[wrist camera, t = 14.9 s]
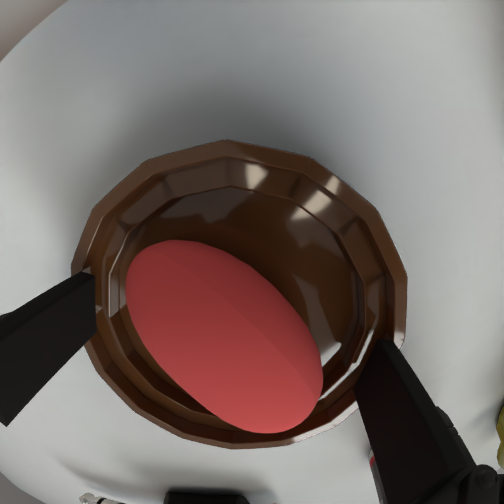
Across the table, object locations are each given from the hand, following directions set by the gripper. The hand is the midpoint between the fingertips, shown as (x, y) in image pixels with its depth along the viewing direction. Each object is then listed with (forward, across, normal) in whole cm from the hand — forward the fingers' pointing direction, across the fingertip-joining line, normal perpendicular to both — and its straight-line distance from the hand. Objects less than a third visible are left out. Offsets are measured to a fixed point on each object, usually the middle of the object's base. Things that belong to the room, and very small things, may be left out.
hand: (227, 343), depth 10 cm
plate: (+3, 0, 0) cm, 3 cm away
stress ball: (+2, 0, 0) cm, 2 cm away
